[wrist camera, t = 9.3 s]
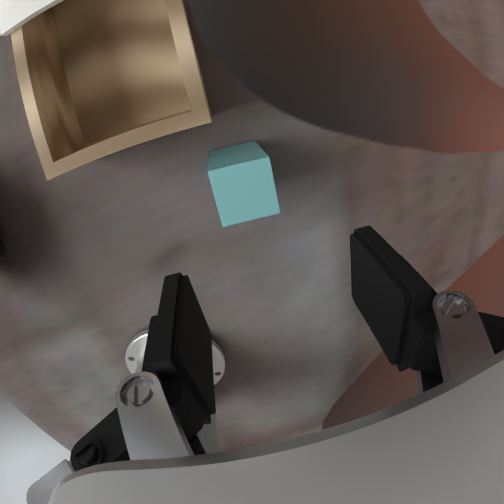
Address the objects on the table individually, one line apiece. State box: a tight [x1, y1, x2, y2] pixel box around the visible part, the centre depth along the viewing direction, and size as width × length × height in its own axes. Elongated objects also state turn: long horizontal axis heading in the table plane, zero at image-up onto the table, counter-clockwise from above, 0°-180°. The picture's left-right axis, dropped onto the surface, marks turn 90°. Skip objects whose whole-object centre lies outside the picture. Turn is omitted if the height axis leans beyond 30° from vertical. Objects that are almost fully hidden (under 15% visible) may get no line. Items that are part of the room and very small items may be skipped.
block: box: [208, 141, 280, 227], centre depth 23 cm, size 4×4×7 cm
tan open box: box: [11, 0, 211, 181], centre depth 16 cm, size 18×12×7 cm, turn 12°
